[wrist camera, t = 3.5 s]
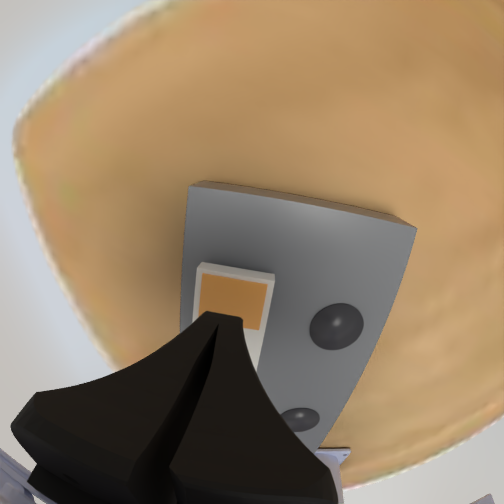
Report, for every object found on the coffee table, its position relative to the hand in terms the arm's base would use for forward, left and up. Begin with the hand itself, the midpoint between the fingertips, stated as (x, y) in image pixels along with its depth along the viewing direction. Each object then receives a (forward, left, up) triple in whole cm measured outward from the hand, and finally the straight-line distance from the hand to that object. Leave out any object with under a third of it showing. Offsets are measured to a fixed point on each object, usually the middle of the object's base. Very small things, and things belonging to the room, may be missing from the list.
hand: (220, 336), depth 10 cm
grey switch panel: (-7, -3, -8) cm, 11 cm away
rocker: (-2, 0, -4) cm, 5 cm away
